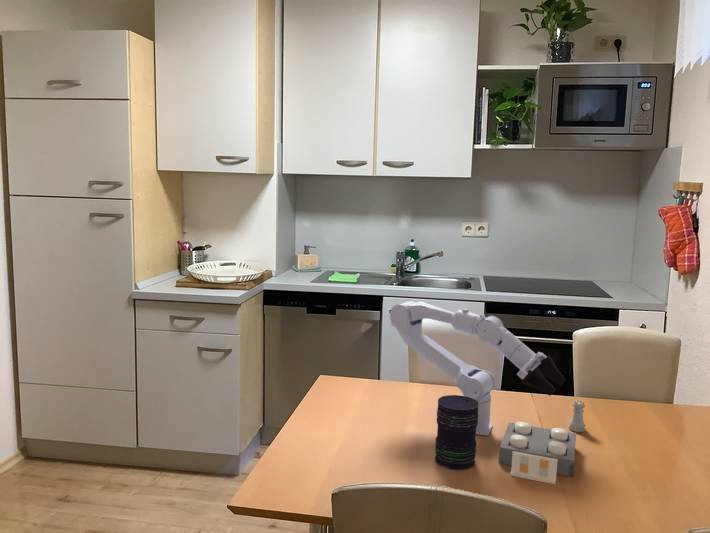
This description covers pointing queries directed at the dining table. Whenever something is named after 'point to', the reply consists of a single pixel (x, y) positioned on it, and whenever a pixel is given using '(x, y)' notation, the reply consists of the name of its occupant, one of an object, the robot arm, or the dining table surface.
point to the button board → (539, 448)
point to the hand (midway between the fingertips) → (558, 387)
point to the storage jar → (456, 432)
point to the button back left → (523, 428)
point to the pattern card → (534, 467)
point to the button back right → (559, 434)
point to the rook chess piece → (577, 417)
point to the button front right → (557, 448)
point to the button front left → (518, 441)
